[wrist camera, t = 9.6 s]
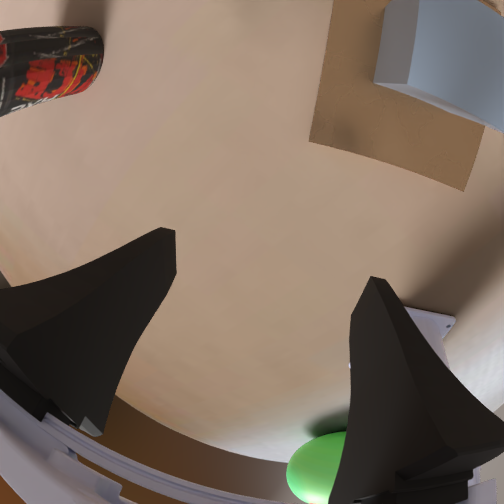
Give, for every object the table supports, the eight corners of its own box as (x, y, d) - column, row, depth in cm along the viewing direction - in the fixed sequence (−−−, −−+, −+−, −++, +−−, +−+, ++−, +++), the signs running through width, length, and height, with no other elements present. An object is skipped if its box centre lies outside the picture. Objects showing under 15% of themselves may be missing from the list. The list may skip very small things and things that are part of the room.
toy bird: (385, 407, 32) (383, 504, 20) (405, 437, 38) (403, 508, 26) (276, 426, 40) (258, 506, 28) (318, 452, 46) (308, 515, 34)
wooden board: (458, 187, 15) (498, 228, 11) (309, 138, 16) (305, 164, 12) (495, 13, 7) (543, 5, 3) (341, -53, 8) (347, -96, 4)
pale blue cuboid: (450, 112, 12) (510, 136, 7) (372, 82, 13) (407, 84, 8) (463, 40, 9) (525, 33, 4) (385, 6, 10) (421, -29, 5)
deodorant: (89, 13, 13) (-86, 34, 1) (114, 65, 15) (-83, 118, 3) (48, 57, 15) (-101, 106, 3) (68, 107, 18) (-87, 181, 6)
